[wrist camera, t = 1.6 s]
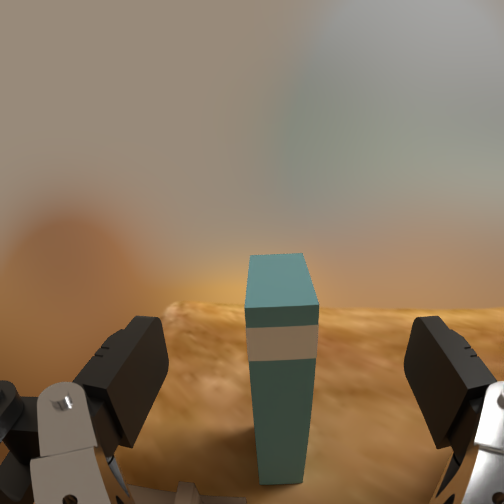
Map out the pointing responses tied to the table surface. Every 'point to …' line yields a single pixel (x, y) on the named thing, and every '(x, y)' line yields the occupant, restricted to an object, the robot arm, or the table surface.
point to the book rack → (179, 496)
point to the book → (281, 362)
